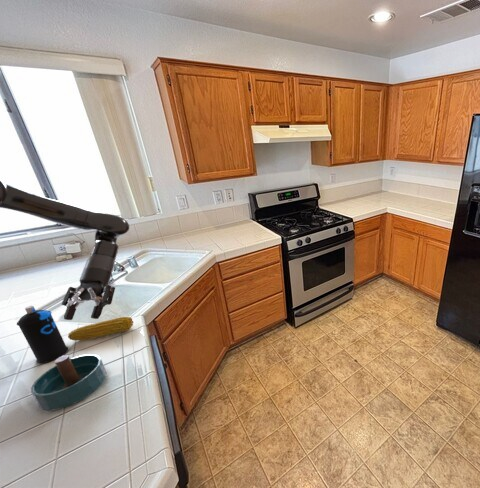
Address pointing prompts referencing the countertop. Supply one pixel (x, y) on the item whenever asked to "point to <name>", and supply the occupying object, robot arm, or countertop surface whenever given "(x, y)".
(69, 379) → the brown wooden peg
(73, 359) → the bowl
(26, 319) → the aerosol can
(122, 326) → the food
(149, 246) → the countertop surface
